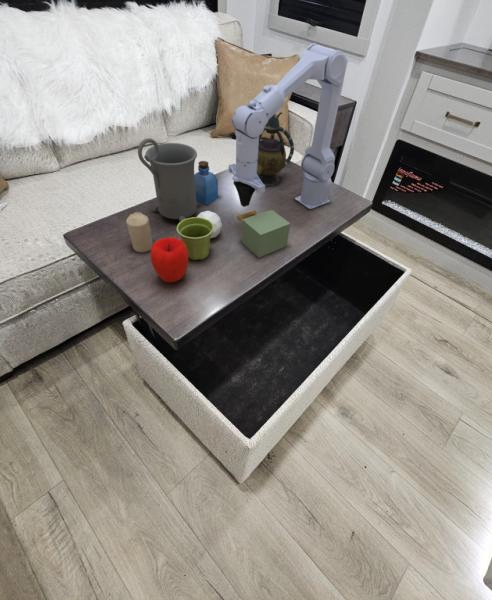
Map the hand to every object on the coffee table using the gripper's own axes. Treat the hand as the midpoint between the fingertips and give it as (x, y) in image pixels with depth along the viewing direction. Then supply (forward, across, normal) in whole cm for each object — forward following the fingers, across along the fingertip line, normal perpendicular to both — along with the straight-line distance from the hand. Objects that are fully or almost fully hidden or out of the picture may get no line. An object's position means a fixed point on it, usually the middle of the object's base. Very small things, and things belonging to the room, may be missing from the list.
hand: (244, 205), depth 97 cm
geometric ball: (+8, -2, -12) cm, 14 cm away
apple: (+8, +9, -29) cm, 31 cm away
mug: (+8, -16, -15) cm, 23 cm away
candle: (+8, -7, -30) cm, 31 cm away
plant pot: (+8, +4, -18) cm, 20 cm away
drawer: (+7, +6, 0) cm, 9 cm away
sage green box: (+8, +10, 0) cm, 13 cm away
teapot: (+8, -20, +21) cm, 30 cm away
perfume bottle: (+8, -21, -2) cm, 22 cm away
